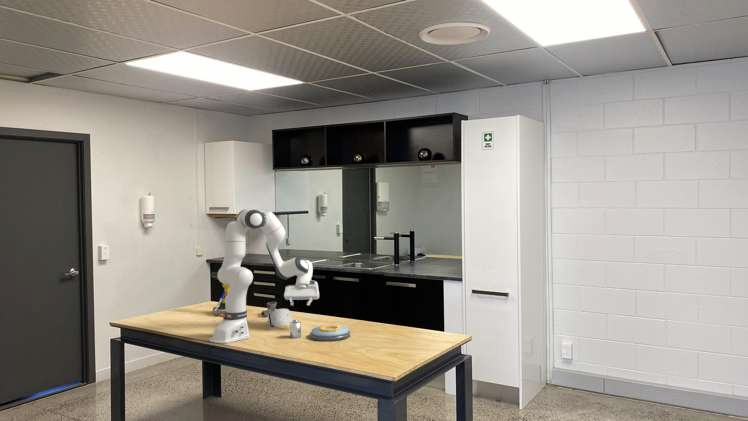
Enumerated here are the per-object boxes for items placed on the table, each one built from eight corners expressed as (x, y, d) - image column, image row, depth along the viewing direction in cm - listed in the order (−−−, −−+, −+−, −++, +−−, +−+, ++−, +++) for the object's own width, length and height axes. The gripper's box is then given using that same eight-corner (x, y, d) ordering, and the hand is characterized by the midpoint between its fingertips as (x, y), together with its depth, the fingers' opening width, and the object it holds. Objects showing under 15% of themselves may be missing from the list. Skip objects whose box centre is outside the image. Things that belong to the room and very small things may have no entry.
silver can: (296, 338, 296) (295, 322, 296) (287, 337, 299) (287, 320, 299) (303, 336, 301) (303, 319, 301) (295, 335, 304) (294, 318, 304)
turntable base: (334, 343, 284) (334, 339, 284) (301, 338, 296) (301, 334, 296) (358, 334, 303) (357, 330, 303) (326, 329, 315) (326, 326, 315)
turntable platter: (333, 338, 286) (333, 333, 286) (304, 334, 297) (303, 329, 297) (355, 330, 303) (355, 325, 302) (326, 326, 313) (326, 322, 313)
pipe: (259, 317, 353) (259, 305, 353) (272, 313, 364) (271, 301, 364) (267, 318, 350) (266, 305, 350) (279, 314, 361) (279, 302, 361)
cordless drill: (239, 309, 380) (238, 269, 379) (241, 314, 362) (240, 273, 361) (211, 311, 375) (210, 271, 374) (212, 317, 357) (211, 274, 356)
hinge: (274, 327, 324) (270, 310, 326) (269, 328, 327) (265, 312, 329) (294, 321, 338) (290, 306, 340) (289, 323, 341) (285, 307, 342)
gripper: (284, 282, 320) (281, 301, 311) (319, 281, 318) (316, 301, 309) (286, 288, 325) (283, 308, 315) (320, 288, 323) (318, 307, 313)
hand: (300, 304), depth 312 cm, fingers open, 8 cm apart
